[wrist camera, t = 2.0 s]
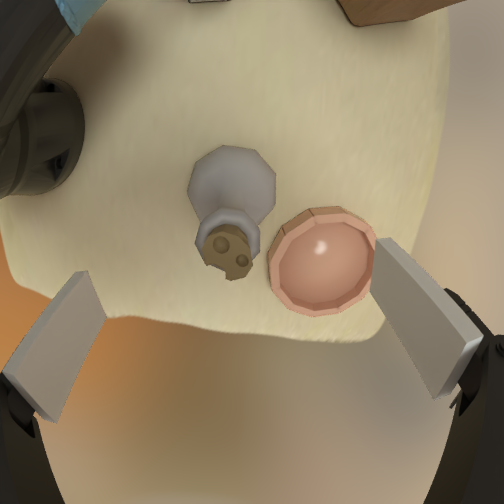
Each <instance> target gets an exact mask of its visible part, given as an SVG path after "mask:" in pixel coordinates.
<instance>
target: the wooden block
mask: <svg viewBox="0 0 504 504" xmlns="http://www.w3.org/2000/svg"><path fill="white" fill-rule="evenodd" d="M338 1H339V2H340V4H341V5H342V7H343V9H344V10H345V12H346V14H347V16H348V17H349V19H350V21H351V22H352V23H353V24H354V25H358V26H366V25H372V24H378V23H386V22H394V21H404V20H413V19H415V18H418V17H420V16H423V15H425V14H428V13H430V12H433V11H436V10H438V9H441V8H444V7H447V6H450V5H453V4H456V3H459V2H462V1H465V0H338Z"/></svg>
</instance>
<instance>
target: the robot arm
mask: <svg viewBox="0 0 504 504" xmlns="http://www.w3.org/2000/svg"><path fill="white" fill-rule="evenodd" d="M106 1H107V0H0V199H2V198H4V197H6V196H8V195H38V194H42V193H45V192H47V191H49V190H51V189H53V188H55V187H57V186H58V185H60V184H61V183H62V182H63V181H64V180H65V179H66V178H67V177H68V176H69V174H70V173H71V172H72V170H73V168H74V167H75V165H76V163H77V160H78V158H79V155H80V152H81V149H82V144H83V138H84V115H83V110H82V106H81V103H80V100H79V98H78V96H77V94H76V93H75V91H74V90H73V89H72V88H71V87H70V86H69V85H68V84H67V83H65V82H64V81H62V80H59V79H53V78H42V77H43V76H44V74H45V73H46V71H47V70H48V69H49V67H50V66H51V65H52V63H53V62H54V61H55V59H56V58H57V57H58V55H59V54H60V53H61V52H62V50H63V49H64V48H65V47H66V45H67V44H68V43H69V42H70V41H71V39H72V38H73V37H74V36H75V35H76V36H78V35H79V34H80V33H81V29H82V27H83V26H84V25H85V23H86V22H87V21H88V20H89V19H90V18H91V17H92V15H93V14H94V13H95V12H96V11H97V10H98V9H99V8H100V7H101V6H102V5H103V4H104V3H105V2H106ZM369 292H370V293H371V295H372V296H373V298H374V299H375V301H376V302H377V304H378V305H379V307H380V308H381V310H382V312H383V313H384V315H385V316H386V318H387V320H388V321H389V323H390V324H391V326H392V328H393V329H394V331H395V332H396V334H397V336H398V338H399V339H400V341H401V342H402V344H403V346H404V347H405V349H406V351H407V353H408V354H409V356H410V358H411V360H412V361H413V363H414V365H415V367H416V369H417V370H418V372H419V374H420V376H421V378H422V379H423V381H424V383H425V385H426V387H427V389H428V391H429V393H430V394H431V396H432V398H433V400H434V401H435V400H437V399H439V398H442V397H444V396H446V395H448V394H450V393H451V392H452V390H453V389H454V388H455V386H456V384H457V383H458V384H459V386H460V387H461V390H460V392H459V393H458V395H457V396H456V397H455V399H454V400H453V402H452V403H451V405H450V408H451V409H452V407H453V406H454V405H455V404H456V408H455V412H454V416H453V421H452V425H451V428H450V432H449V436H448V439H447V442H446V446H445V449H444V452H443V455H442V458H441V461H440V464H439V467H438V469H437V472H436V475H435V477H434V480H433V482H432V485H431V487H430V490H429V492H428V494H427V497H426V499H425V501H424V503H423V504H504V335H496V336H494V335H493V334H492V333H491V331H490V330H489V329H488V328H487V327H486V325H485V324H484V323H483V322H482V321H481V320H480V318H479V317H478V316H477V315H476V314H475V313H474V312H473V311H472V310H471V308H470V307H469V306H468V305H466V304H465V302H464V301H463V300H462V299H461V298H460V296H459V295H458V294H456V293H454V292H453V291H451V290H449V289H447V288H445V289H443V288H442V287H441V286H440V285H439V284H438V283H437V282H436V281H435V280H434V279H433V278H432V277H431V276H430V275H429V274H428V273H427V272H426V271H425V270H424V269H423V268H422V267H421V266H420V265H419V264H418V263H417V262H416V261H415V260H414V259H413V258H412V257H411V256H410V255H409V254H408V253H407V252H406V251H405V250H403V249H402V248H401V247H400V246H399V245H398V244H397V243H396V242H395V241H394V240H393V239H392V238H381V239H376V241H375V252H374V261H373V269H372V277H371V284H370V291H369ZM106 318H107V316H106V314H105V312H104V310H103V307H102V305H101V303H100V301H99V298H98V296H97V294H96V291H95V289H94V286H93V284H92V281H91V279H90V276H89V274H88V271H80V272H75V273H74V274H73V276H72V277H71V278H70V279H69V280H68V281H67V283H66V284H65V285H64V286H63V287H62V289H61V290H60V291H59V292H58V293H57V295H56V296H55V297H54V298H53V300H52V301H51V302H50V303H49V305H48V306H47V307H46V309H45V310H44V311H43V312H42V314H41V315H40V317H39V318H38V319H37V321H36V322H35V323H34V325H33V326H32V327H31V329H30V330H29V332H28V333H27V334H26V335H25V337H24V338H23V339H22V341H21V342H20V344H19V345H18V347H17V348H16V350H15V352H14V353H13V354H12V356H11V357H10V359H9V361H8V362H7V364H6V365H5V367H4V368H3V370H2V372H1V373H0V504H65V502H64V500H63V498H62V496H61V493H60V491H59V488H58V486H57V483H56V481H55V478H54V475H53V473H52V470H51V467H50V464H49V461H48V458H47V455H46V451H45V448H44V444H43V441H42V437H41V433H40V429H39V425H38V422H37V419H36V418H35V417H34V416H33V414H34V412H35V411H36V412H37V413H38V414H39V415H40V416H41V417H42V418H43V419H44V420H47V421H50V422H53V423H57V422H58V419H59V417H60V415H61V412H62V409H63V407H64V405H65V403H66V400H67V398H68V395H69V393H70V391H71V388H72V386H73V384H74V382H75V380H76V378H77V375H78V373H79V371H80V369H81V367H82V365H83V362H84V361H85V359H86V356H87V355H88V352H89V351H90V348H91V347H92V344H93V342H94V341H95V339H96V337H97V335H98V333H99V331H100V329H101V327H102V325H103V324H104V322H105V320H106ZM456 402H457V403H456Z"/></svg>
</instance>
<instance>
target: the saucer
mask: <svg viewBox="0 0 504 504" xmlns="http://www.w3.org/2000/svg"><path fill="white" fill-rule="evenodd" d="M376 239H377V238H376V235H375V233H374V231H373V229H372V227H371V226H370V225H369V224H368V223H367V222H366V221H364V220H363V219H362V218H360V217H358V216H356V215H355V214H353V213H351V212H349V211H347V210H345V209H343V208H341V207H339V206H336V207H323V208H311V209H309V210H308V209H307V210H306V211H304V212H303V213H301V214H300V215H298V216H297V217H295V218H294V219H292V220H291V221H289V222H288V223H286V224H285V225H283V226H282V227H281V229H280V231H279V233H278V234H277V236H276V238H275V240H274V242H273V244H272V246H271V248H270V250H269V252H268V262H269V275H270V283H271V288H272V291H273V292H274V293H275V295H276V296H277V297H278V298H279V299H280V301H281V302H282V303H283V304H284V305H285V306H286V308H287V309H289V310H291V311H294V312H297V313H301V314H304V315H307V316H310V317H318V316H325V315H331V314H338V313H339V312H340V313H341V312H342V311H344V310H346V309H347V308H349V307H350V306H352V305H354V304H355V303H357V302H358V301H360V300H362V299H363V298H364V297H365V295H366V294H367V292H368V291H369V290H370V284H371V277H372V269H373V261H374V252H375V241H376Z"/></svg>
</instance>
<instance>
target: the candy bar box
mask: <svg viewBox="0 0 504 504" xmlns="http://www.w3.org/2000/svg"><path fill="white" fill-rule="evenodd" d="M188 1H189V3H196V2H205V1H225V0H188Z"/></svg>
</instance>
